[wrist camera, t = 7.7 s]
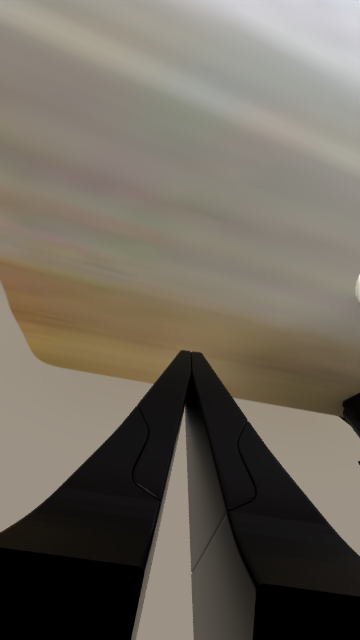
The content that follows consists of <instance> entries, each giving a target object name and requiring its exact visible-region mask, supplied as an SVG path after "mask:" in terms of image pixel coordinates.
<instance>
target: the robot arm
mask: <svg viewBox="0 0 360 640" xmlns="http://www.w3.org/2000/svg"><path fill="white" fill-rule="evenodd" d="M342 406H343V407H344V411H343V416H344V417H340V416H338V417H340V418H341V419H342V420H344V421H345V422H346V423H347V424H349V425H350V426H351V427H352V428H353V430H354V431H355V432H356V434H357V435H358V436H359V437H360V393H359V394H357V395H355V396H353V397H351V398H349V399H347V400H345V401H343V405H342ZM184 407H185V420H186V445H187V472H188V498H189V524H190V550H191V571H192V575H191V578H192V602H193V603H192V604H193V627H194V640H360V556H359V555H358V554H357V553H356V552H355V551H354V550H353V549H352V548H351V547H350V546H349V545H348V544H347V543H346V542H345V541H344V540H343V539H342V538H341V537H340V536H339V535H338V534H337V532H336V531H335V530H334V529H333V528H332V526H331V525H330V524H329V523H328V522H327V521H326V519H325V518H324V517H323V516H322V514H321V513H320V512H319V511H318V509H317V508H316V507H315V506H314V505H313V503H312V502H311V501H310V500H309V499H308V497H307V496H306V495H305V494H304V492H303V491H302V490H301V489H300V488H299V486H298V485H297V484H296V483H295V482H294V480H293V479H292V478H291V477H290V475H289V474H288V473H287V472H286V470H285V469H284V468H283V467H282V465H281V464H280V463H279V462H278V460H277V459H276V458H275V457H274V455H273V454H272V453H271V452H270V450H269V449H268V448H267V446H266V445H265V444H264V442H263V441H262V439H261V438H260V437H259V435H258V434H257V432H256V431H255V430H254V428H253V427H252V425H251V424H250V423H249V422H247V418H246V417H245V415H244V414H243V412H242V411H241V409H240V408H239V407H238V405H237V404H236V402H235V401H234V399H233V398H232V396H231V395H230V393H229V392H228V391H227V389H226V388H225V386H224V385H223V383H222V382H221V380H220V379H219V378H218V376H217V375H216V373H215V372H214V370H213V369H212V367H211V366H210V364H209V363H208V362H207V360H206V359H205V357H204V356H203V354H202V353H200V352H190V351H185V350H181V351H180V352H179V353H178V355H177V356H176V357H175V358H174V360H173V361H172V362H171V363H170V365H169V366H168V367H167V368H166V370H165V371H164V372H163V373H162V375H161V376H160V377H159V378H158V380H157V381H156V382H155V383H154V385H153V386H152V387H151V389H150V390H149V391H148V392H147V394H146V395H145V396H144V397H143V399H142V400H141V401H140V402H139V403H138V405H137V406H136V407H135V408H134V410H133V411H132V412H131V413H130V415H129V416H128V417H127V418H126V419H125V420H124V422H123V423H122V424H121V425H120V426H119V427H118V429H117V430H116V431H115V432H114V433H113V434H112V435H111V436H110V437H109V438H108V439H107V440H106V441H105V442H104V443H103V444H102V445H101V446H100V447H99V448H98V449H97V450H96V451H95V452H94V453H93V454H92V455H91V456H90V457H89V458H88V459H87V460H86V461H85V462H84V463H83V464H82V465H81V466H80V467H79V468H78V469H77V470H76V471H75V472H74V473H73V474H72V475H71V476H70V477H69V478H68V479H67V480H66V481H65V482H64V483H63V484H62V485H61V486H60V487H59V488H58V489H57V490H56V491H55V492H54V493H53V494H52V495H51V496H50V497H49V498H47V499H46V500H45V501H44V502H43V503H42V504H41V505H39V506H38V507H37V508H36V509H34V510H33V511H32V512H31V513H29V514H28V515H26V516H25V517H24V518H22V519H21V520H19V521H18V522H16V523H15V524H13V525H11V526H10V527H8V528H7V529H5V530H4V531H2V532H0V640H136V636H137V631H138V626H139V622H140V617H141V613H142V608H143V603H144V598H145V593H146V589H147V583H148V579H149V574H150V570H151V565H152V560H153V555H154V550H155V546H156V541H157V536H158V531H159V527H160V522H161V517H162V512H163V508H164V503H165V498H166V494H167V489H168V484H169V479H170V475H171V470H172V465H173V460H174V456H175V451H176V446H177V441H178V437H179V432H180V427H181V422H182V417H183V413H184ZM359 464H360V461H359Z"/></svg>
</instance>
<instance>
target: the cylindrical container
mask: <svg viewBox="0 0 360 640" xmlns="http://www.w3.org/2000/svg"><path fill="white" fill-rule="evenodd" d="M355 292H356V298H357V300H358V302H359V303H360V275H359V277H358V280H357V283H356V289H355Z"/></svg>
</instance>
